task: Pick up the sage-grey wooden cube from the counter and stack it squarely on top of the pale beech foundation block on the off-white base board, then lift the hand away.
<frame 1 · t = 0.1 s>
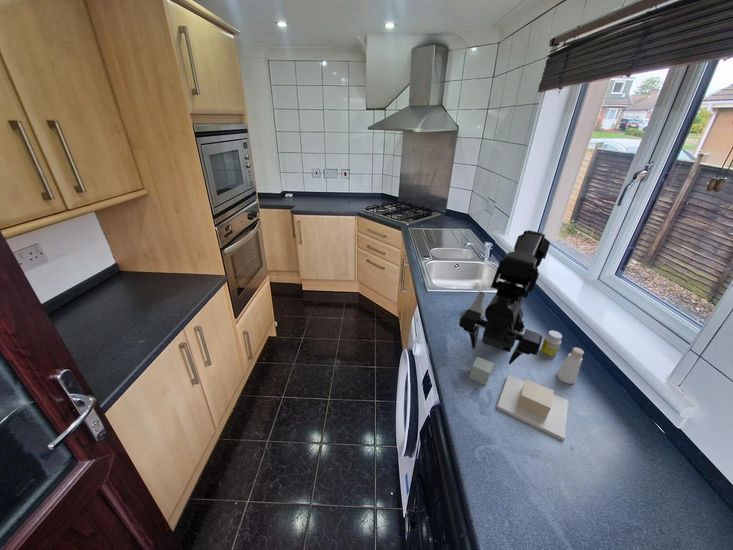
hand: (491, 355, 79), 14 cm above the counter, tool pointing down, fingers open, 9 cm apart
build base: (532, 405, 83), on the counter
flask: (476, 314, 122), on the counter
sage cube: (479, 376, 92), on the counter
supplement bottle: (547, 354, 103), on the counter
pepper shaker: (565, 378, 93), on the counter
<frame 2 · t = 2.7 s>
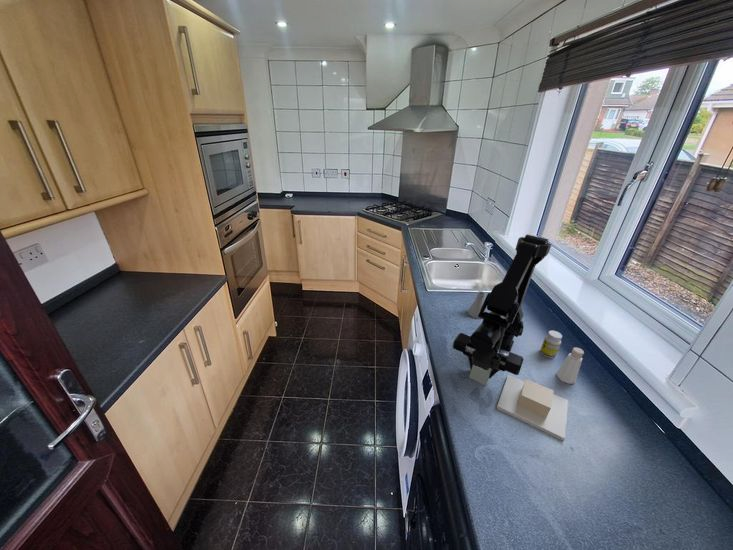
hand: (480, 373, 91), 1 cm above the counter, tool pointing down, fingers closed on sage cube, 5 cm apart
sage cube: (479, 376, 92), on the counter, touching gripper
everything else where it was.
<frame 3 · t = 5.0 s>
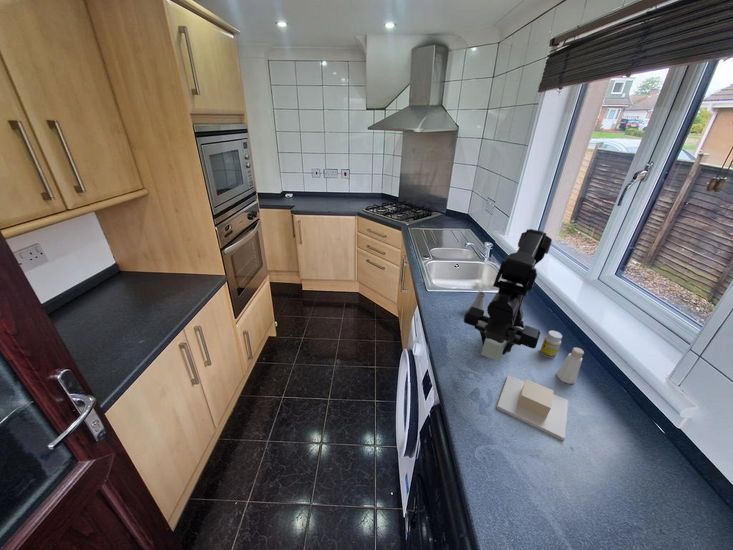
hand: (493, 349, 86), 11 cm above the counter, tool pointing down, fingers closed on sage cube, 5 cm apart
sage cube: (492, 353, 86), point 10 cm above the counter, touching gripper
everything else where it was.
when the fingers open (8 cm above the counter, at t = 7.7 s): sage cube drops 1 cm, resting on build base.
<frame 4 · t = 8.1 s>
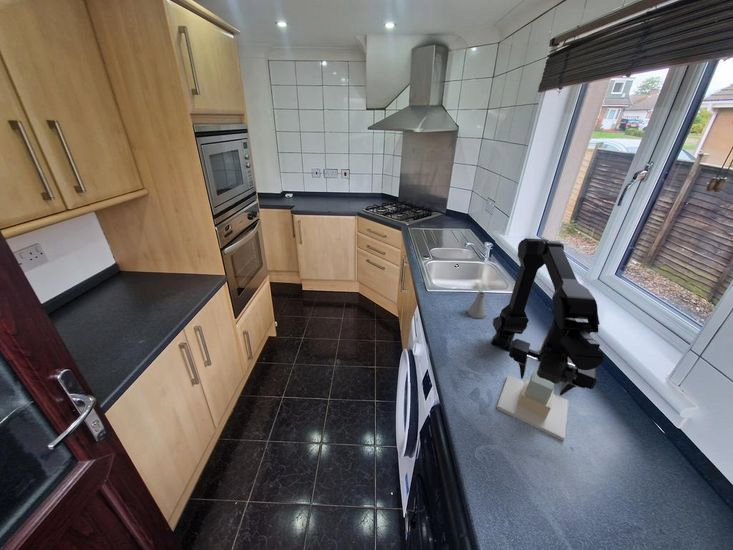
hand: (540, 385, 79), 8 cm above the counter, tool pointing down, fingers open, 9 cm apart
sage cube: (537, 392, 81), point 5 cm above the counter, touching build base
everything else where it was.
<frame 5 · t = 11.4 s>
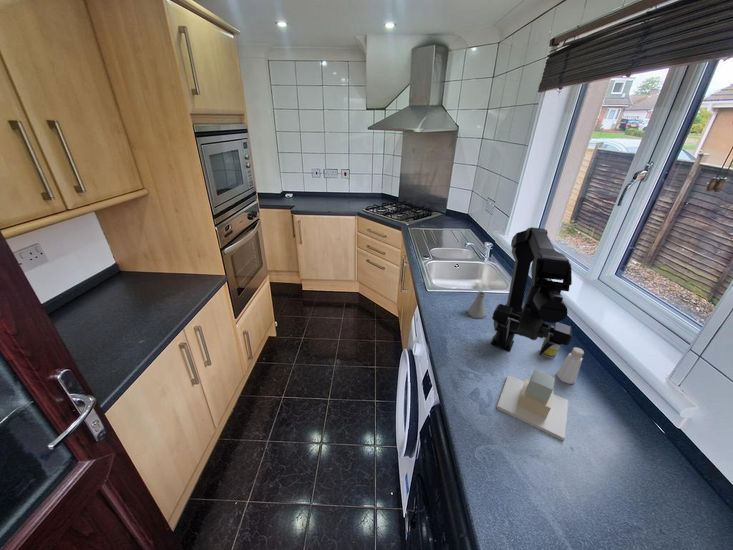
hand: (522, 347, 85), 13 cm above the counter, tool pointing down, fingers open, 9 cm apart
nothing on the counter moved.
at the end: sage cube 0.0 cm off-centre on the build base, point 5.0 cm above the build base's base; sage cube tilted 0°; the gripper is holding nothing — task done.
